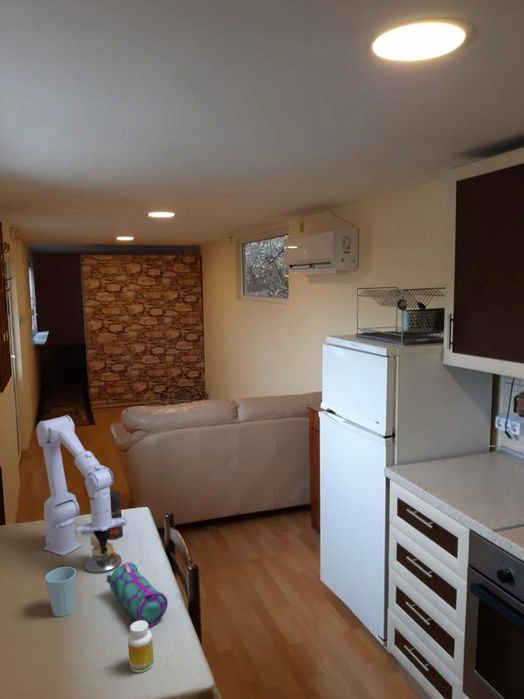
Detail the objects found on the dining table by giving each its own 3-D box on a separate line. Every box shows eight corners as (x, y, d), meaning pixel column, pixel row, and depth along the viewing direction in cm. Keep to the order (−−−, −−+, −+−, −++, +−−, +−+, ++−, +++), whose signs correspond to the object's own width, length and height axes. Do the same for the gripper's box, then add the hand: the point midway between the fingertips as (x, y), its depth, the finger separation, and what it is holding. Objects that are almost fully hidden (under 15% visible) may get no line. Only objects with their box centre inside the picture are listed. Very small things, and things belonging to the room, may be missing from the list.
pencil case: (107, 597, 152) (105, 565, 151) (137, 586, 158) (135, 554, 156) (139, 635, 136) (136, 599, 134) (171, 621, 141) (169, 586, 140)
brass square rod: (101, 561, 164) (101, 550, 163) (85, 550, 171) (84, 539, 170) (119, 553, 168) (118, 542, 168) (102, 543, 175) (101, 532, 175)
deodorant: (125, 531, 191) (122, 490, 189) (119, 540, 185) (116, 497, 183) (109, 531, 192) (105, 490, 190) (102, 539, 186) (99, 497, 184)
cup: (79, 599, 152) (76, 564, 150) (78, 616, 144) (75, 579, 143) (50, 605, 149) (46, 569, 148) (47, 622, 142) (44, 584, 141)
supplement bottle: (152, 672, 123) (149, 632, 122) (127, 674, 123) (125, 634, 121) (155, 655, 128) (152, 617, 127) (131, 657, 128) (129, 619, 127)
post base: (76, 567, 168) (75, 553, 168) (104, 551, 178) (103, 537, 177) (102, 577, 163) (100, 562, 162) (128, 560, 172) (127, 545, 171)
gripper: (78, 519, 157) (81, 564, 159) (128, 509, 164) (130, 552, 165) (74, 510, 163) (76, 554, 165) (122, 500, 170) (125, 542, 172)
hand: (103, 552), depth 165 cm, fingers closed, pressing on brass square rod
